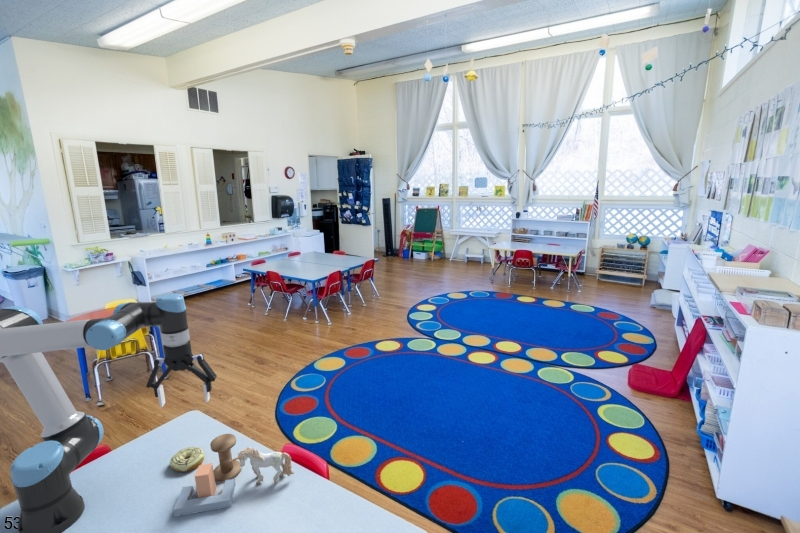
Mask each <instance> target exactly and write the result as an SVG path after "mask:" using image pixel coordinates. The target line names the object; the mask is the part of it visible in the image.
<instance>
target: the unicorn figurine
mask: <svg viewBox="0 0 800 533" xmlns="http://www.w3.org/2000/svg"><path fill="white" fill-rule="evenodd" d="M236 454H238V455H237V457H234V458H232V460H230V461H234V460H236V461H239V462H240V466H241V468H243V467H244V466H245V465H246V461H247V459H248V458H249V461H250V463H249V464H250V466H251V470H252V471H253V474H255V476H257V477H258V479H257V480H256V482H255V484H257V485H260V483H261V482H262V483H264V475H262V474H261V471H260V468H264V469H266V468H269V467H272V468H273V469H274V470H275V471H277V473H275V475H274V476H273V483H274V484H276V483H277V482H278V480H279V478H282V477H284V476H285V475H287V477H291V475H294V474H295V471H294V470H293V469H292V468H293V464H292V457H291V456H290V454H289V453H287V452H286V451H285V452H281V451H273V452H271V453H270V452H269V453H262V452H261V451H259V450H258V449H256V448H254V447H250V446H249V447H245V448H243V449H242V450H241V451H240V452H238V451H237V453H236ZM230 461H229V462H230ZM280 466H281V467H280ZM281 468H282V469H281Z"/></svg>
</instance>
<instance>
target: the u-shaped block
mask: <svg viewBox="0 0 800 533" xmlns="http://www.w3.org/2000/svg"><path fill="white" fill-rule="evenodd" d="M223 483H224V484H223V486H222V491H221V493H220V494H214V496H208V497H202V498H198V497H196V498H193V495H194V492H195V491H194V486H193V485H187V486H183V487H182V488H181V491H180V493H179V496H178V498H177V500H176V502H175V505H174V507H173V515H174V517H178V516H185V515H190V514H196V513H197V514H198V513H201V512H207V511H213V510H219V509H225V508H230V507H231V505H232V502H233V501H232V500H233V497H234V493H235V489H236V486H237V485H236V478H233V479H230V480H225V482H223Z"/></svg>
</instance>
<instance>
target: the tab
mask: <svg viewBox="0 0 800 533" xmlns="http://www.w3.org/2000/svg"><path fill="white" fill-rule="evenodd" d="M194 481H195V488H196V493H197V498H202V497H208V496H214V495H216V491H217V487H216V486H217V485H216V480H215V478H214V465H213V463H212V462H211V463H205V464H200V465H199V466H198V467H197V470H196V472H195V474H194Z"/></svg>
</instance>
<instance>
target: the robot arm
mask: <svg viewBox="0 0 800 533" xmlns="http://www.w3.org/2000/svg"><path fill="white" fill-rule="evenodd" d="M145 327H147V328H148V327H159V329H160V333H161V334H160V336H161V340H162V345H163V346H162V347H163V354H164V358H163V357H161V356H157V357H156V358H155V360H154V361H153V369H152V371H151V373H150V375H149V378H148V380H147V383H146V385H145V386H146V388H147V389H149V388H151V389H153V392H154V397H155V398H158V404H159V408H163V407H164V406H165V404H166V397H165V390H164V385H163V384H161V383H162V382H163V381H164V380H165V378H166V377H167V376H168V375H169V373H171V371H174V372H178V371H179V372H181V371H182V372H183V371H188V372H191V373H192V374H193V375H194V376H195V377H197V378H198V379H200V380H201V381H202V382H203V384H202V387H203V393H204V394H203V395H204V402H205V404H206V403H208V402H209V401H210V398H211V396H210V393H211V391H212V389H213V386H212V385H213V384H212V382H215V381H216V379H217V377H218V376H217V374H216V373H215V372H214V369H213V368H212V367H211V366H210V365H209V363H208V362H207V360H205V356H204V354H203V353H202V352H200V353H199V354H196V355H193V352H192V345H191V340H190V339H191V337H190V336H191V335H190V331H189V322H188V317H187V306H186V303H185V299H184V296H183V295H182V294H181V293H165V294H162V295H159V296H158V297H156V298H155V301H150V302H149V301H148V302H147V301H146V302H144V301H143V302H142V301H141V302H140V301H139V302H137V301H136V302H135V301H133V302H132V301H130V302H125V303H124V302H123V303H120V304H118V305H116V307H115V309H114V310H113V313H112V314H111V315H110V316H107V317H100V318H89V319H79V320H70V321H60V322H51V323H43V320H42V317H40V315H39V314H38V313H37V312H36V311H34V310H32V309H30V308H29V307H28V308H27V307H25V306H21V305H11V306H7V307H4V308H0V363H3V364H4V366H5V368H6V369H7V372H8V373H9V374H10V376H11V378H12V379H13V380H14V382H15V384H16V385H17V387H18V388H19V390H20V392H21V394H22V395H23V397H24V398H25V400H26V401H27V403H28V404H29V406H30V408H31V409H32V411H33V413H34V415H35V416H36V418H37V419H38V421H39V422H40V424H41V425H42V427H43V430H42V432H41V434H40V437H41V439H42V440H43V441H41V442H39V443H36V444H35V445H34V446H32V447H28V448H26V449H25V450H23V451H22V452H21V453H20V454H19V455H18V456H17V457H16V458H15V459H14V460H13V461H12V463H11V465H10V480H11V483H12V484H13V489H14V491H15V495H16V498H17V502H18V504H19V508H20V513H19V520H18V525H17V532H18V533H62V532H64V531H65V530H67V529H68V528H70V527H71V526H72V525H74V523H75V522H76V521H78V519H79V518H80V517H81V516H82V515H83V513H84V511H85V508H86V507H85V501H84V498H83V496H81V495H80V494H79V493H78V492H77V491H76V489H75V488H74V487H73V485H72V480H71V477H70V475H71V474H72V472H74V470H75V469H76V468H77V467H78V466H79V465H80V464H81V463H82V462H83V461H84V460H85V459H86V458H87V457H88V456H89V455H90V454H91V453H93V452H94V451H95V450H96V448H97V447H98V445H100V443H101V442H102V440H103V437H104V425H103V424H102V422H101V421H100V420H99V419H98V418H97V417H94V416H92V415H88V414H86V413H85V412H83V411H78V410H76V408H75V406H74V405H73V403H72V401H71V400H70V398H69V396H68V394H67V393H66V391H65V389H64V388H63V386H62V384H61V383H60V381H59V380H58V378H57V375H56V374H55V373H54V371H53V369H52V368H51V365H50V364H49V362H48V360H47V359H46V358H45V355H44V354H43V353H46V352H55V351H62V350H63V351H64V350H71V349H72V350H73V349H81V348H90V347H91V348H93V349H95V350H98V351H108V350H110V349H112V348H115V347H116V346H118V345H119V344H121V343H122V342H123V341H124V340H126V339H127V338H128V337H131V335H133V334H135V333H137V332H138V331H139V330H141V329H142V328H145ZM194 361H195V362H196V363H197V364H198V365H199V367H198V366H197V365H196V363H195V362H194ZM163 364H165V366H167V368H166V370H165V371H164V372H163V373H162V375H161V376H160V377H159V378H158V380H157V381H155V380H156V378H157V376H158V373H159V371H160V368H161V366H162V365H163Z"/></svg>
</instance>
